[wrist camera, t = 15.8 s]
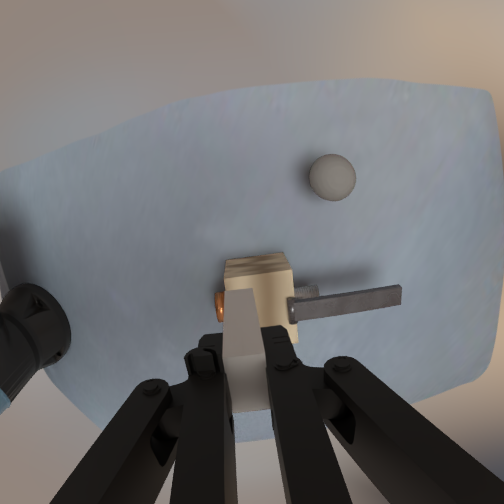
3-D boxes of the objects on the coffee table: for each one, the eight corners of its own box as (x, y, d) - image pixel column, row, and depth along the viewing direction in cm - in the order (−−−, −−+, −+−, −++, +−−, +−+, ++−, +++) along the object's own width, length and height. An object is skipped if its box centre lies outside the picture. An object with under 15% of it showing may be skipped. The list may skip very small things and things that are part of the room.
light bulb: (311, 203, 43) (332, 212, 34) (290, 170, 42) (305, 169, 32) (343, 182, 43) (371, 186, 33) (323, 149, 41) (346, 144, 32)
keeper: (288, 321, 39) (289, 325, 38) (286, 297, 38) (286, 301, 37) (397, 304, 38) (400, 307, 37) (398, 281, 37) (402, 284, 36)
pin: (220, 314, 44) (219, 327, 40) (215, 288, 43) (213, 299, 39) (314, 301, 44) (321, 313, 40) (313, 274, 43) (320, 284, 39)
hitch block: (236, 323, 47) (236, 351, 40) (226, 260, 45) (223, 278, 37) (289, 316, 47) (298, 342, 40) (282, 252, 45) (292, 269, 37)
